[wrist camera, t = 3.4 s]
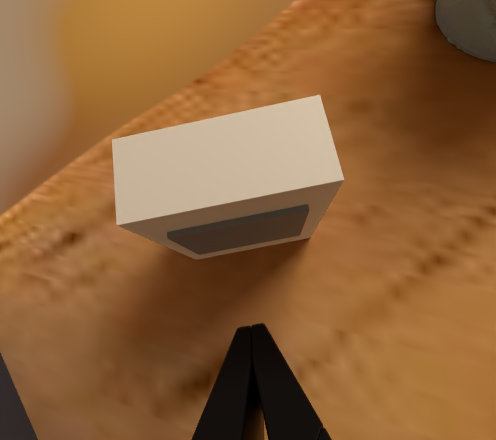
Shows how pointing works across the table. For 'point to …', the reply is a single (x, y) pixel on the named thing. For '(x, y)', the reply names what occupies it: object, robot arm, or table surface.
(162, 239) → the white box grey panel
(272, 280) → the table surface
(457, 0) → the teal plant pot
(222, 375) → the robot arm
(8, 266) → the table surface
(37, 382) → the table surface
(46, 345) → the table surface
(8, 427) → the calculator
